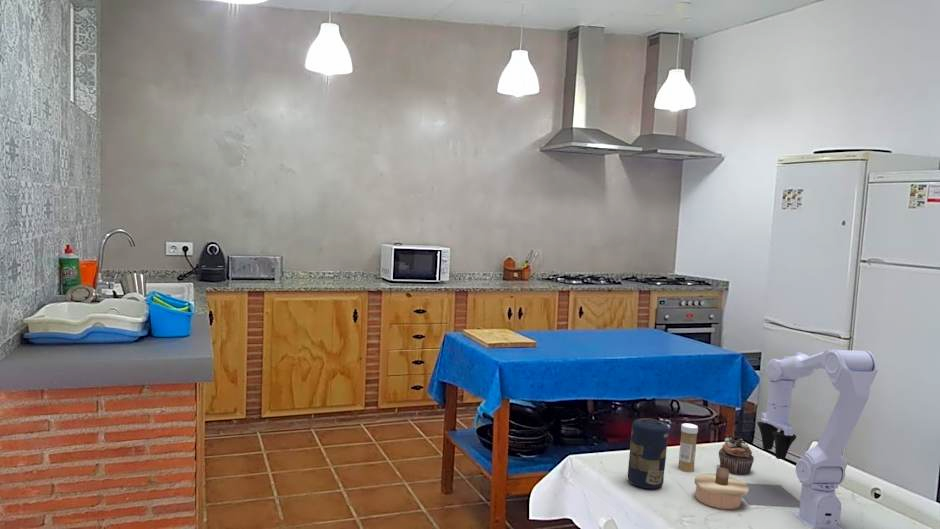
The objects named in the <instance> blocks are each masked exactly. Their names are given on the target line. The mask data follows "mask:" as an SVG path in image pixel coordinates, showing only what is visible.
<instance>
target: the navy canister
mask: <svg viewBox="0 0 940 529" xmlns="http://www.w3.org/2000/svg"><path fill="white" fill-rule="evenodd" d="M669 429H670V428H669V425H668V424H667V423H666V422H663V421H661V420H659V419H654V418H644V417H643V418H642V417H641V418H637V419H635V420H634V421H632V424H631V434H630V442H629V443H630V444H629V455H628V456H629V457H628V467H627V468H628V469H627V479H628V481H629V482H630V483H631V484H632V485H634V486H636V487H639V488H643V489H657V488H660V487H662V485H663V484H664V477H665V470H666V468H665V467H666V460H667V449H668V438H669Z"/></svg>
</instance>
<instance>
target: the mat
mask: <svg viewBox="0 0 940 529" xmlns="http://www.w3.org/2000/svg"><path fill="white" fill-rule="evenodd" d="M744 483H745V484H747V485H748V487H749V492H748V494H746V495H744V496H742V500H744V501H745V503H747V504H748V505H749V506H765V507H781V508H782V507H783V508H798V509H800V500H799V499H798V498H797V497H795V496H794V495H793V494H792V493H791V492H789V491H788V490H787V489H785V488H784V487H783V486H782V485H781V484H765V483H764V484H763V483H750V482H749V483H746V482H744Z"/></svg>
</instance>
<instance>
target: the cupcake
mask: <svg viewBox="0 0 940 529" xmlns="http://www.w3.org/2000/svg"><path fill="white" fill-rule="evenodd" d="M752 454H753V452H752V450H751V448H750V446H749V444H748V443H746V441H744V439H743V438H742V437H734V436H731V435H729V436H727V437H726V438H724V443H723V445H722V447H721V448H720V449H719V451H718V458H719V459H718V460H719V468H726V469H728V470H729V474H732V475H736V476H737V475H738V476H747V475H749V474H750V473H751V469H752V466H753V464H754V461H755V458H754V456H753V455H752Z"/></svg>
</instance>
